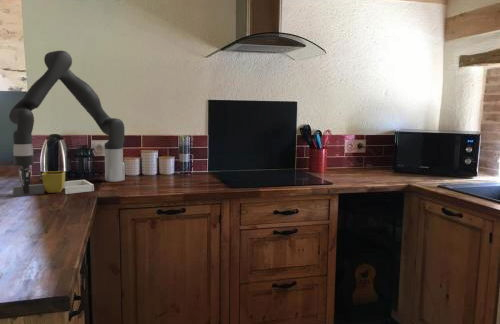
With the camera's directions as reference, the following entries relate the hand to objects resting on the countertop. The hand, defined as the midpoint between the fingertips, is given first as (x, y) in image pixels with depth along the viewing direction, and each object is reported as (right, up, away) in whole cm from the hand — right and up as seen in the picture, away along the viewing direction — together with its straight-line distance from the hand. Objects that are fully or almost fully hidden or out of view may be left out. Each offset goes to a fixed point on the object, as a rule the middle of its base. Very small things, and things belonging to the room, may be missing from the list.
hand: (25, 192), depth 181 cm
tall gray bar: (+1, -1, +1) cm, 2 cm away
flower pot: (+9, 0, +7) cm, 12 cm away
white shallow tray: (+16, 0, +13) cm, 21 cm away
